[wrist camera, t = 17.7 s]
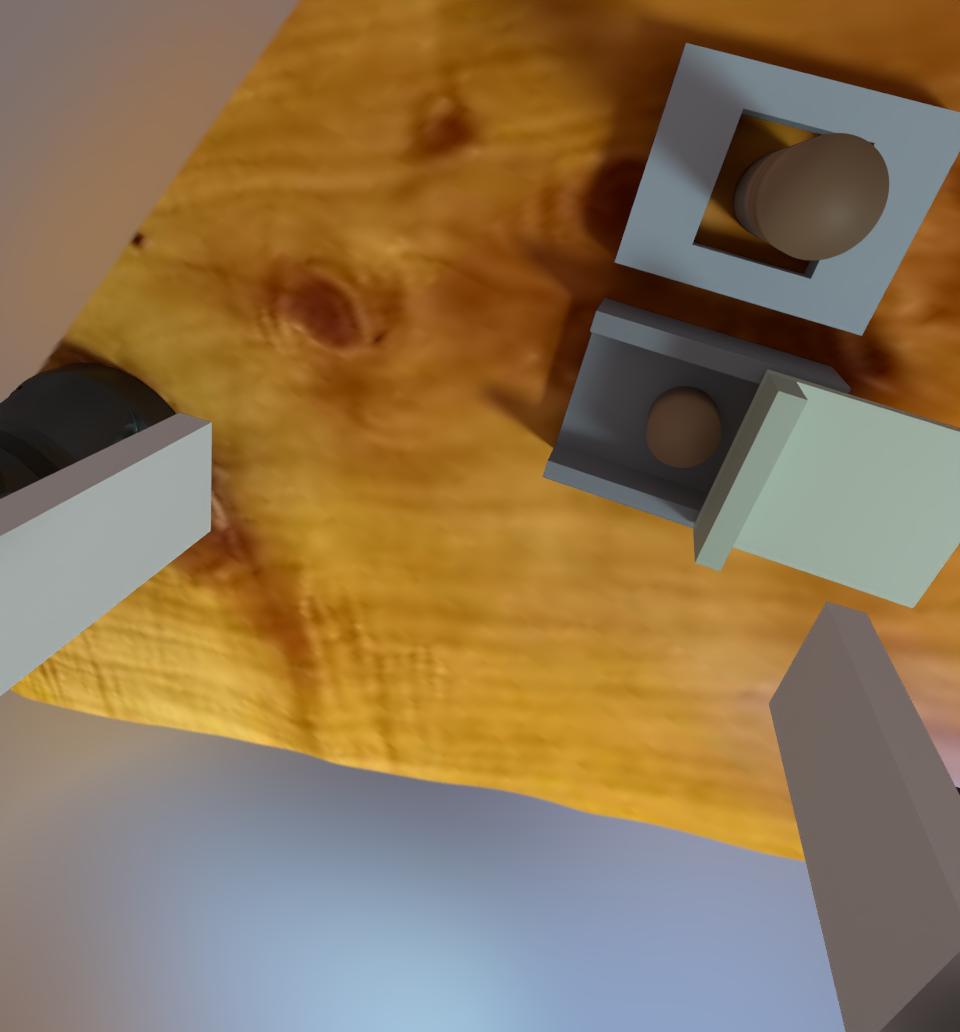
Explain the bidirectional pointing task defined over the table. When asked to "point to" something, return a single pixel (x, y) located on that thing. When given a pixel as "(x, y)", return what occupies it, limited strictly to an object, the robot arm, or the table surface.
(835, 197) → the pin
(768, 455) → the cover
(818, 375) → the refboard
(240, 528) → the table surface
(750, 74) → the socket
